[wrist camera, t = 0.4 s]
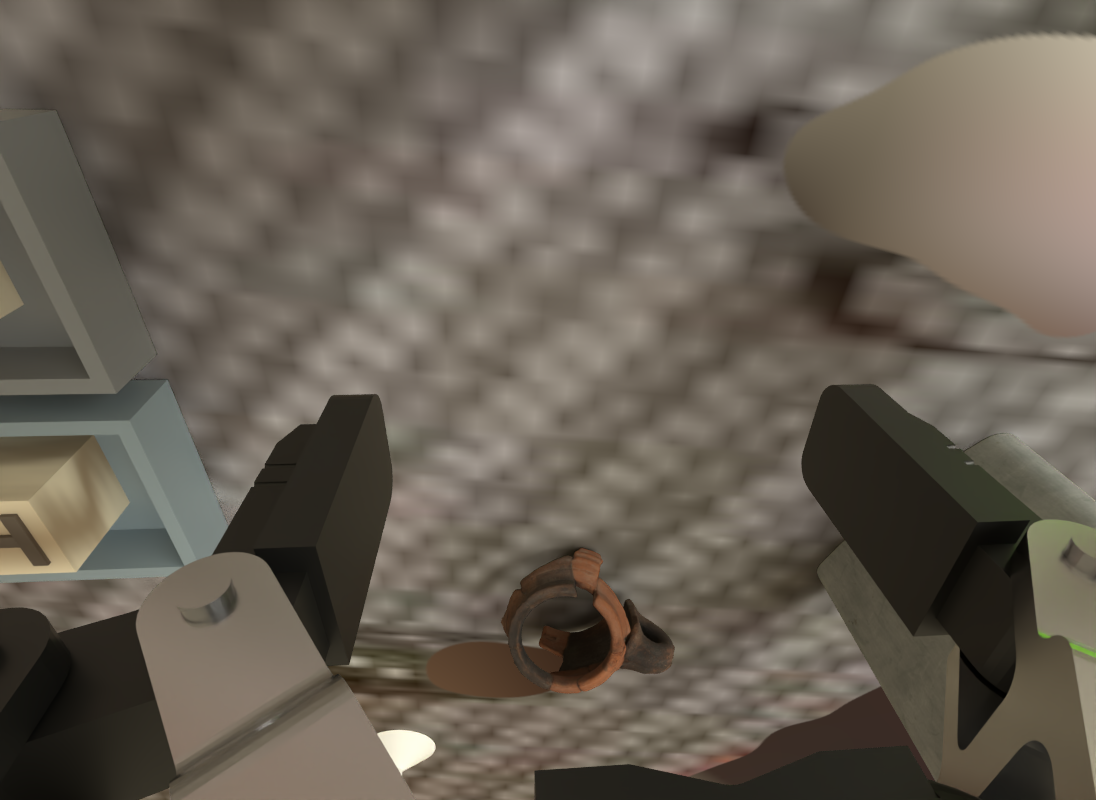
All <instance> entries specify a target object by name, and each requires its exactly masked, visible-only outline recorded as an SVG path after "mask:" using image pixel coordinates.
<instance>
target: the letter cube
mask: <svg viewBox="0 0 1096 800" xmlns="http://www.w3.org/2000/svg"><path fill="white" fill-rule="evenodd" d="M129 503H130V502H129V500H128V498H127V496H126V494H125V492H124V490H123V489H122V487H121V485H120V483H119V481H118V479H117V477H116V475H115V474H114V472H113V470H112V468H111V466H110V464H109V462H108V461H107V459H106V457H105V455H104V453H103V451H102V449H101V447H100V446H99V444H98V442H97V440H96V438H95V436H94V435H69V436H18V437H0V575H14V574H42V573H69V572H77V571H78V569H79V568H80V567H81V565H82V564H83V563H84V562H85V560H86V559H87V558H88V556H89V555H90V554H91V553H92V551H93V550H94V549H95V547H96V546H97V545H98V543H99V542H100V541H101V540H102V538H103V537H104V536H105V534H106V533H107V532H108V531H109V529H110V528H111V527H112V525H113V524H114V523H115V521H116V520H117V519H118V518H119V516H120V515H121V514H122V512H123V511H124V510H125V508H126V507H127V506H128V505H129Z"/></svg>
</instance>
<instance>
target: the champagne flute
mask: <svg viewBox="0 0 1096 800" xmlns="http://www.w3.org/2000/svg"><path fill="white" fill-rule="evenodd" d="M377 735H378V736H379V738H380V740H381V741H382V743H383V745H384V746H385V748H386V750H387V752H388V753H389V755H390V757H391V758H392V760H393V762H394V763H395V765H396V767H397V768H398V770H399V772H400V773H401V775H402V771H404V770H406V769H408V768H410V767H412V766H414V765H416V764H417V763H419V762H421V761H423V760H425V759H427V758H428V757H430V756H431V755H432V754H433V753H434V751H435V743H434V742H433V740H432V739H430V738H429V737H428V736H426V735H424V734H421V733H418V732H414V731H408V730H390V731H384V732H380V733H377Z"/></svg>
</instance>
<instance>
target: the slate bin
mask: <svg viewBox="0 0 1096 800" xmlns="http://www.w3.org/2000/svg"><path fill="white" fill-rule="evenodd" d="M69 435H94V436H95V438H96V440H97V442H98V444H99V446H100V447H101V449H102V451H103V453H104V455H105V457H106V459H107V461H108V462H109V464H110V466H111V468H112V470H113V472H114V474H115V475H116V477H117V479H118V481H119V483H120V485H121V487H122V489H123V490H124V492H125V494H126V496H127V498H128V500H129V502H130V503H129V505H128V506H127V507H126V508H125V510H124V511H123V512H122V514H121V515H120V516H119V518H118V519H117V520H116V521H115V523H114V524H113V525H112V527H111V528H110V529H109V531H108V532H107V533H106V534H105V536H104V537H103V538H102V540H101V541H100V542H99V543H98V545H97V546H96V547H95V549H94V550H93V551H92V553H91V554H90V555H89V556H88V558H87V559H86V560H85V562H84V563H83V564H82V565H81V567H80V568H79V569H78V571H77V572H69V573H42V574H14V575H0V583H12V582H38V581H65V580H91V579H118V578H144V577H168V576H169V575H170V574H172V573H173V572H175V571H177V570H178V569H180V568H181V567H183V566H185V565H187V564H189V563H191V562H194V561H196V560H199V559H201V558H204V557H208V556H211V555H212V554H213V552H214V550H215V549H216V547H217V545H218V543H219V542H220V540H221V538H222V537H223V535H224V533H225V531H226V530H227V528H228V524H227V522H226V520H225V517H224V515H223V512H222V510H221V507H220V505H219V503H218V500H217V498H216V495H215V493H214V491H213V488H212V486H211V483H210V481H209V478H208V476H207V474H206V471H205V469H204V466H203V464H202V462H201V459H200V457H199V454H198V452H197V449H196V447H195V445H194V442H193V440H192V437H191V435H190V433H189V430H188V428H187V425H186V423H185V420H184V418H183V416H182V413H181V411H180V408H179V406H178V404H177V401H176V399H175V396H174V394H173V391H172V389H171V387H170V384H169V382H168V380H130V381H129V382H128V383H127V384H126V385H125V386H124V387H123V388H122V389H121V390H120V391H119V392H118V393H117V394H53V395H0V437H18V436H69Z"/></svg>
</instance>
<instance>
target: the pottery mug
mask: <svg viewBox="0 0 1096 800" xmlns="http://www.w3.org/2000/svg"><path fill="white" fill-rule="evenodd" d="M602 563H603V561H602V559H601V556H600V554H598V553H596V552H593V551H590V550H587V549H584V548H580V549H579V550H578V551H575V553H574V556H573V557H572V556H570V555H566V556H563V557H561V558H558V559H556V560H553V561H551V562H549V563H547V564H546V565H544V566H541V567H540V568H538V569H536V570H534V571H533V572H532V573H531V574H529V575H528V576H526V577H525V578H523V579H522V581H521V582H520V584H521V589H517V590H515V591H514V592H513V594H512V596H511V598H510V601H509V604H508V606H507V610H506V612H505V615H504V617H503V618H502V621H501V623H502V625H503V628H504V631H505V633H506V635H507V637H508V638H509V641H508V644H509V647H510V651H511V654H512V657H513V659H514V663H515V664H516V666H517V668H518V669H519V671H520V672H521V674H522V675H523V676H525V677H526V678H527V679H529V680H530V681H531V682H533V683H534V684H536V685H538V686H539V687H542V688H544V689H550V690H552V691H555V692H559V693H579V692H581V691H588V690H591V689H593V688H595V687H597V686H599V685H601V684H602V683H604V682H605V681H606V680H607V679H608V678H609V677H610V676H611V675H612V674H613V673H614V672H615V671H617V670H619V669H620V668H621V669H630V670H634V671H637V672H640V673H643V674H650V673H654V674H657V673H661V672H664V671H665V670H667V669H668V668H669V667H670V666H671V664H672V659H673V656H674V655H673V653H674V649H675V647H674V645H673V643H672V641H671V639H670V638H669V636H668V635H667V634H666V633H665V632H664V631H663V630H662V629H661V628H659V627H658V626H657V625H655V624H654V623H652V622H651V621H649V620H648V619H646V618H645V617H643V616H642V615H641V614H640V613H639V612H638V611H637V609H636V607H635V605H634V603H633V602H632V601H631V600H630V599H627V600H626V601H625V603H624V607H622V605H621V603H620V602H619V600H618V599H617V596H616V595H615V593H614V592H613V591H612V589H611V588H610V587H609V586H608V585H607V584H606V583H605V582H604V581H603V580H602V579H600V578H599V577H598V576H599V572H600V565H601V564H602ZM576 586H577V587H579V588H582V589H585V590H587V591H588V592H590V593H591V594H592V595H593V606H594V607H595V608H596V609H597V610H598V611H599V612H600V614H601V615H602V616H603V617H604V618H603V620H601V621H600V622H599V623H598V624H596V625H595V626H593V627H590V628H588V629H586V630H584V631H580V632H573V633H570V632H565V631H561V630H557V629H554V628H552V627H549V626H544V628H543V631H542V636H541V639H540V641H539V646H540V647H542V648H543V649H546V650H548V651H551V652H552V653H554V654H555V655H558V656H560V657H562V658H563V663H562V666H561V667H560V670H559V671H558V672H551V673H547V672H545V671H544V670H542V669H540V668H539V667H538V666H536V665H535V664H534V663H533V662H532V661H531V660H530V658H529V657H528V655H527V654H526V652H525V650H524V647H523V645H522V639H521V631H522V626H523V623H524V620H525V619H526V617H527V615H528V614H529V613H530V612H531V611H532V610H533V608H535V607H536V606H538V605H539V604H540V603H542V602H544V601H546V600H549V599H552V598H557V597H574V598H575V597H577V592H576V589H575V587H576Z"/></svg>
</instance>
